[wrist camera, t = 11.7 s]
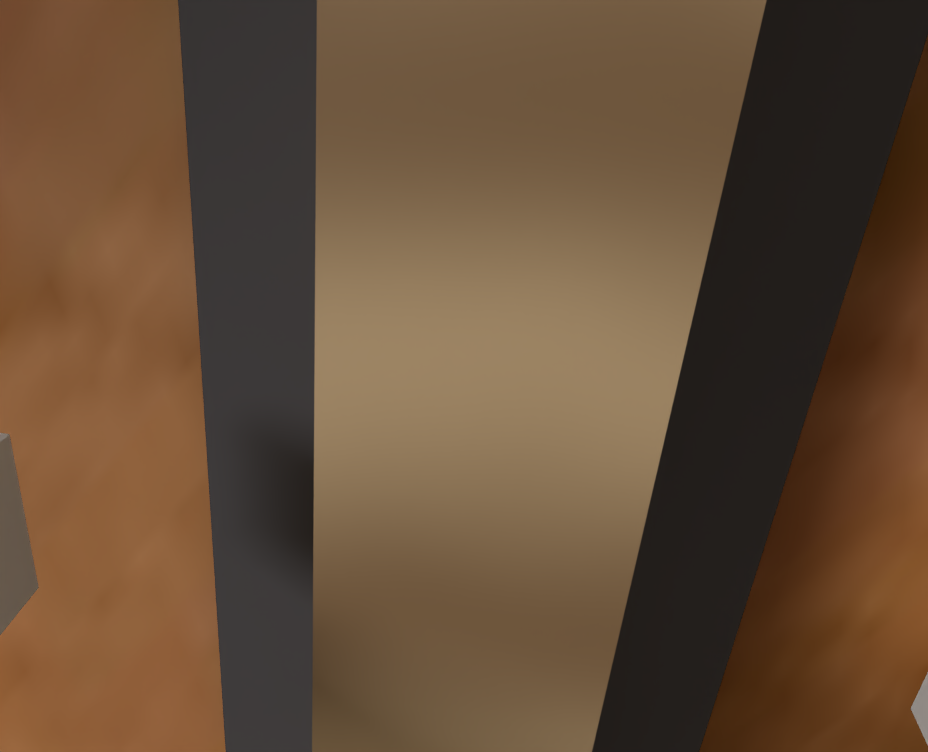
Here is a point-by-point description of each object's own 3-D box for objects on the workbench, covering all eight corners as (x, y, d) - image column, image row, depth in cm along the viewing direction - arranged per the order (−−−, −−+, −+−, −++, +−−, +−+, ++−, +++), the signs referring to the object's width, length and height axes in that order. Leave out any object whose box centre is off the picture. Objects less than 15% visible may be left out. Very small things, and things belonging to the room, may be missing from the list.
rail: (403, -275, 10) (319, -394, 6) (743, -245, 10) (846, -351, 6) (356, 812, 19) (310, 1008, 16) (530, 838, 19) (524, 1042, 16)
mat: (166, -505, 10) (145, -529, 9) (1055, -437, 9) (1085, -460, 9) (240, 823, 21) (231, 846, 20) (646, 884, 20) (648, 910, 20)
